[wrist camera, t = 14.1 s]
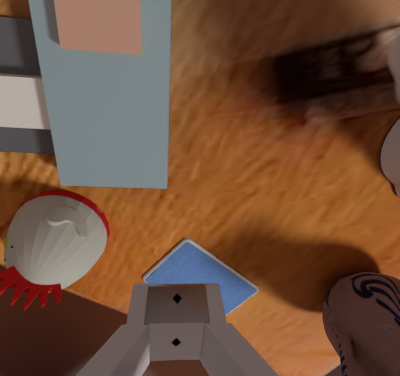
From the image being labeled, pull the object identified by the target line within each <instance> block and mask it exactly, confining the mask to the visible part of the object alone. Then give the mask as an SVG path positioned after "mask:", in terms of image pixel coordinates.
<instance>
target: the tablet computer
mask: <svg viewBox="0 0 400 376" xmlns="http://www.w3.org/2000/svg"><path fill="white" fill-rule="evenodd" d="M143 280H144V282H145V283H147V284H149V283H154V284H190V283H204V284H205V283H218V284H219V285H220V290H221V295H222V301H223V306H224V312H225V316H226V315H228V314H229V313H230V312H231V311H233V310H234V309H235V308H237V307H238V306H240V305H241V304H242V303H243V302H245V301H246V300H248V299H249V298H250V297H251V296H253V295H254V294H256V293H257V292H258V286H256V285H255V284H253V283H252V282H250V281H249V280H248V279H246V278H245V277H243V276H242V275H240V274H239V273H238V272H236V271H235V270H233V269H232V268H231V267H229V266H228V265H226V264H225V263H224V262H222V261H221V260H219V259H218V258H216V257H215V256H214V255H213V254H211V253H210V252H208V251H207V250H206V249H204V248H203V247H201V246H200V245H199V244H197V243H196V242H194V241H193V240H192V239H190V238H185V239H183V240H182V241H181V242H180V243H179V244H178V245H177V246H175V247H174V248H173V249H172V250H171V251H170V252H169V253H168V254H167V255H166V256H165V257H163V258H162V259H161V260H160V261H159V262H158V263H157V264H156V265H155V266H154V267H153V268H151V269H150V270H149V271H148V272H147V273H146V274H145V275H144V276H143Z"/></svg>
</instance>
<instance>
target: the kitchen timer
mask: <svg viewBox="0 0 400 376" xmlns="http://www.w3.org/2000/svg"><path fill="white" fill-rule="evenodd" d="M109 234H110V232H109V223H108V221H107V219H106V217H105V215H104V213H103V212H102V211H101V210H100V209H99V207H98V206H97V205H96V204H95V203H93V202H92V201H90V200H89V199H87V198H86V197H84V196H81V195H79V194H76V193H73V192H69V191H62V190H52V191H44V192H41V193H39V194H36V195H34V196H32V197H31V198H30V199H28V200H27V201H26V202H25V203H24V204H23V205H22V206H21V207H20V208H19V209H18V211H17V212H16V214H15V216H14V218H13V220H12V222H11V224H10V226H9V229H8V232H7V235H6V238H4V239H2V241H3V244H4V261H5V265H6V268H7V269H5V270H3V271H1V272H0V282H2V284H1V286H0V295H1V294H2V293H3V292H5V291H6V290H7V289H9V288H11V287H14V288H15V291H14V294H13V297H12V300H11V305H13V304H14V302H15V301H16V300H17V299H18V298H19V297H20V296H21V294H23V293H24V292H27V297H26V301H25V304H24V310H26V309H27V307H28V306H29V305H30V303H31V302H32V301H33V300H34V298H36V297H37V296H39V298H40V304H41V307H43V306H44V305H45V304H46V302H47V299H48V293H49V292H52V293H53V294H54V295H55V298H56V302H57V304H58V303H59V301H60V300H61V298H62V290H61V289H63V288H65V287H67V286H69V285H71V284H73V283H74V282H76V281H77V280H78V279H80V278H81V277H82V276H84V275H85V274H86V273H87V272H88V271H89V270H90V269H91V268H92V266H93V265H94V264H95V263H96V262H97V260H98V259H99V257H100V256H101V255H102V253H103V252H104V250H105V247H106V244H107V241H108V238H109Z"/></svg>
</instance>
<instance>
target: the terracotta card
mask: <svg viewBox="0 0 400 376" xmlns="http://www.w3.org/2000/svg"><path fill="white" fill-rule="evenodd" d="M54 5H55V12H56V20H57V27H58V34H59V41H60V49H71V50H83V51H96V52H109V53H122V54H135V55H142V10H141V0H54Z"/></svg>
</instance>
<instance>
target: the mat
mask: <svg viewBox="0 0 400 376" xmlns="http://www.w3.org/2000/svg"><path fill="white" fill-rule="evenodd" d="M0 73H3V74H17V75H31V76H41V70H40V64H39V58H38V53H37V47H36V41H35V35H34V30H33V24H32V19H21V18H10V17H0ZM0 152H24V153H48V154H55V151H54V145H53V139H52V134H51V130H50V129H31V128H13V127H0Z"/></svg>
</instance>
